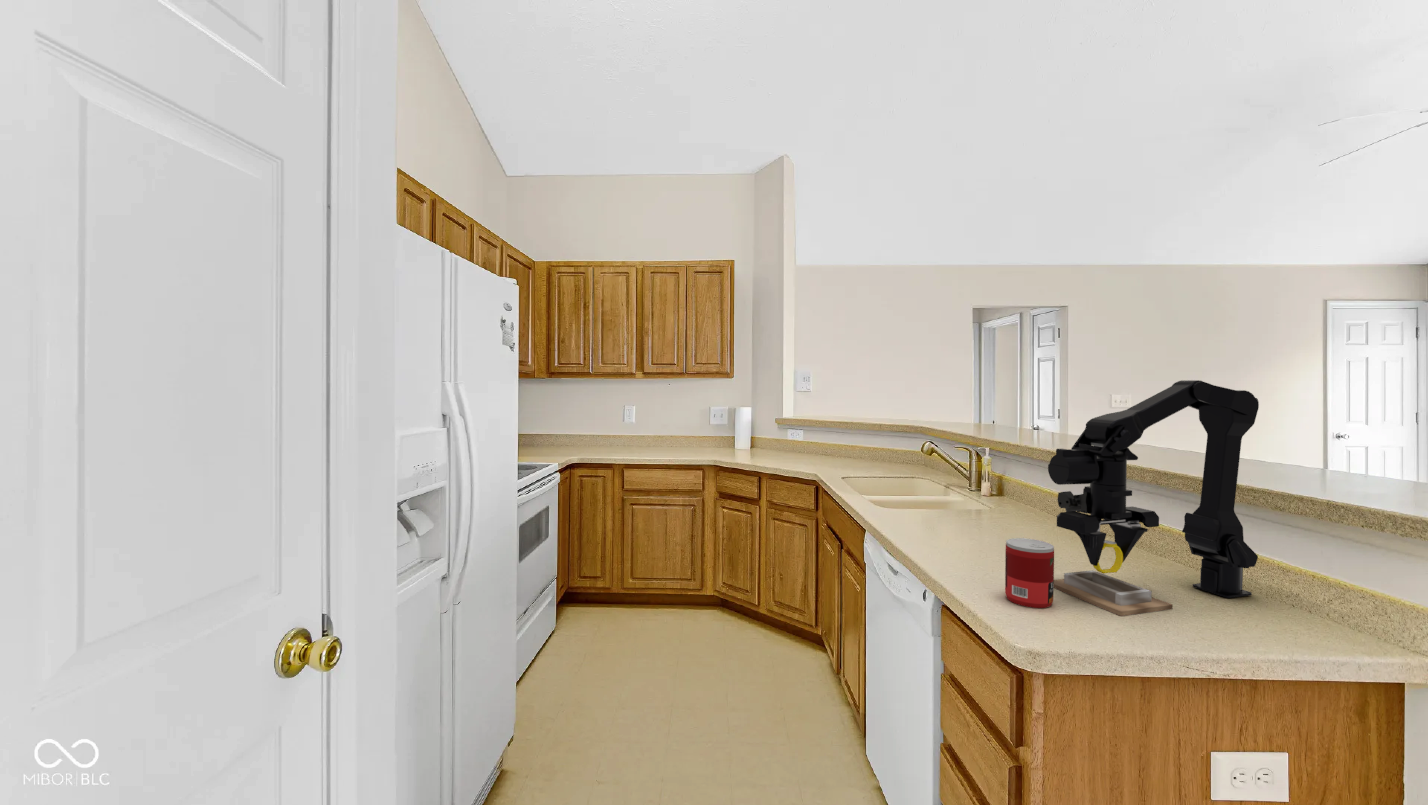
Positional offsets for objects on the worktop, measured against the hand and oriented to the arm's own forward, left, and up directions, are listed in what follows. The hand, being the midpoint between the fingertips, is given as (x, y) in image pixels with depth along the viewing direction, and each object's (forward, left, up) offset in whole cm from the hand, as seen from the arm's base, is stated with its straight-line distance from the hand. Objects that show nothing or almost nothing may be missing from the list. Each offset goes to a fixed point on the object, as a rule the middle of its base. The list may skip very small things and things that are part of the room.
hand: (1106, 563), depth 108 cm
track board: (0, 0, -6) cm, 6 cm away
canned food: (+16, -2, -7) cm, 18 cm away
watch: (0, 0, -2) cm, 2 cm away
